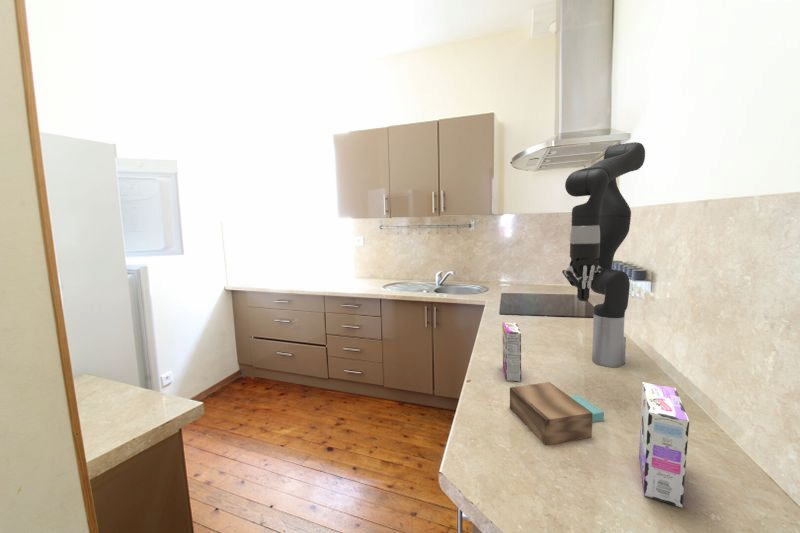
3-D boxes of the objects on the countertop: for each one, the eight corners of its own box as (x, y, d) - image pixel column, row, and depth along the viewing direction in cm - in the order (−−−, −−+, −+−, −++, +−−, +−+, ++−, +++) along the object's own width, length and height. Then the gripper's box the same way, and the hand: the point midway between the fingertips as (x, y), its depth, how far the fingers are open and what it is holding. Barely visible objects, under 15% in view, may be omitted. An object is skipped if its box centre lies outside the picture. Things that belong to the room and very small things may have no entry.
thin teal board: (577, 404, 94) (578, 393, 94) (603, 422, 85) (603, 411, 85) (526, 412, 91) (526, 401, 90) (547, 432, 82) (547, 420, 82)
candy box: (684, 509, 58) (690, 421, 56) (642, 496, 62) (647, 411, 60) (672, 461, 70) (677, 386, 68) (637, 452, 73) (641, 380, 71)
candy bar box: (501, 367, 119) (501, 321, 117) (516, 367, 118) (517, 322, 116) (505, 381, 108) (505, 331, 106) (521, 382, 107) (521, 332, 105)
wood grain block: (549, 402, 95) (549, 382, 94) (591, 436, 79) (592, 412, 78) (509, 408, 92) (509, 387, 92) (545, 444, 77) (545, 420, 76)
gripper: (595, 240, 102) (593, 296, 104) (555, 242, 99) (554, 299, 101) (615, 241, 94) (612, 301, 96) (573, 243, 92) (571, 305, 94)
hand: (583, 300), depth 99 cm, fingers closed
